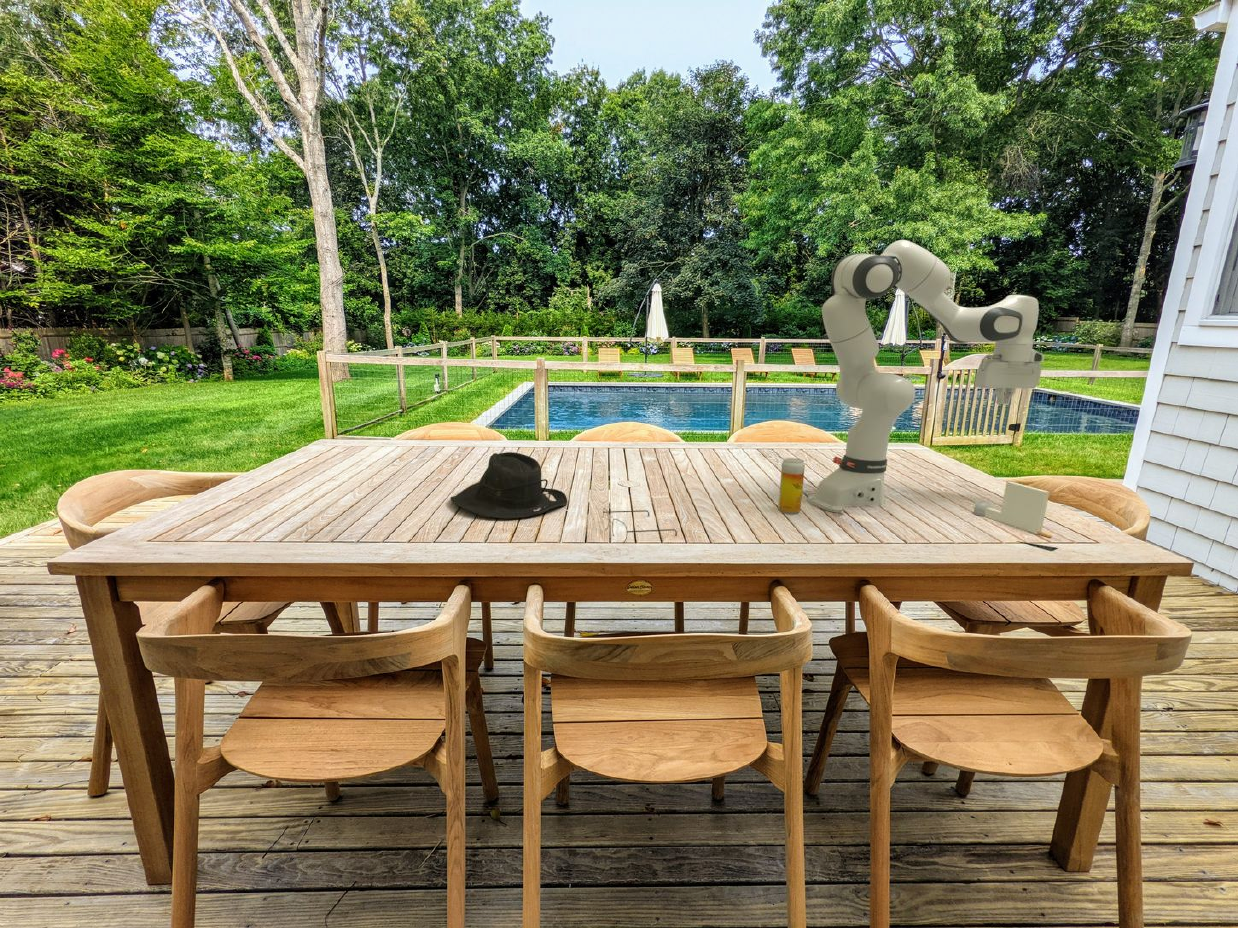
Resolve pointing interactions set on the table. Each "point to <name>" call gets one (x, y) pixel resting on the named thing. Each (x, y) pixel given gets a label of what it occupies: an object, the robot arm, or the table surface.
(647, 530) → the eyeglasses
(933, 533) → the table surface
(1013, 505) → the peg
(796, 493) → the beer glass
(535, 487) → the hat
